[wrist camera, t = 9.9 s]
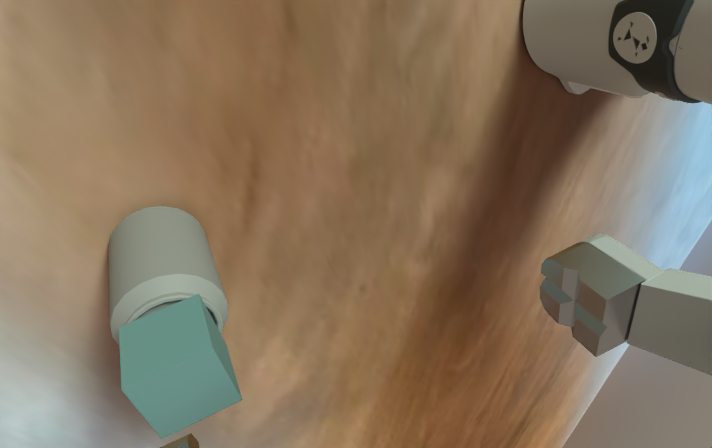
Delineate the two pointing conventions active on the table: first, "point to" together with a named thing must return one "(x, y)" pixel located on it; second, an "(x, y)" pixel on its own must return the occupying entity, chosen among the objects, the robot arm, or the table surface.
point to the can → (161, 267)
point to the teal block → (176, 366)
